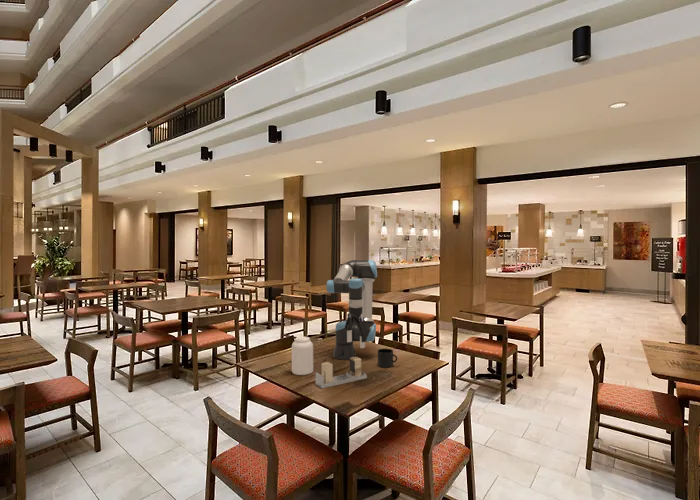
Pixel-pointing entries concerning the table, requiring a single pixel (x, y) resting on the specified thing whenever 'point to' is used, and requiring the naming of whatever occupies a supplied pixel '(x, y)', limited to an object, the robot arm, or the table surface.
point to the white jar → (302, 356)
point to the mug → (386, 358)
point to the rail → (335, 377)
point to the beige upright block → (355, 366)
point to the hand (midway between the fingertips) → (355, 344)
